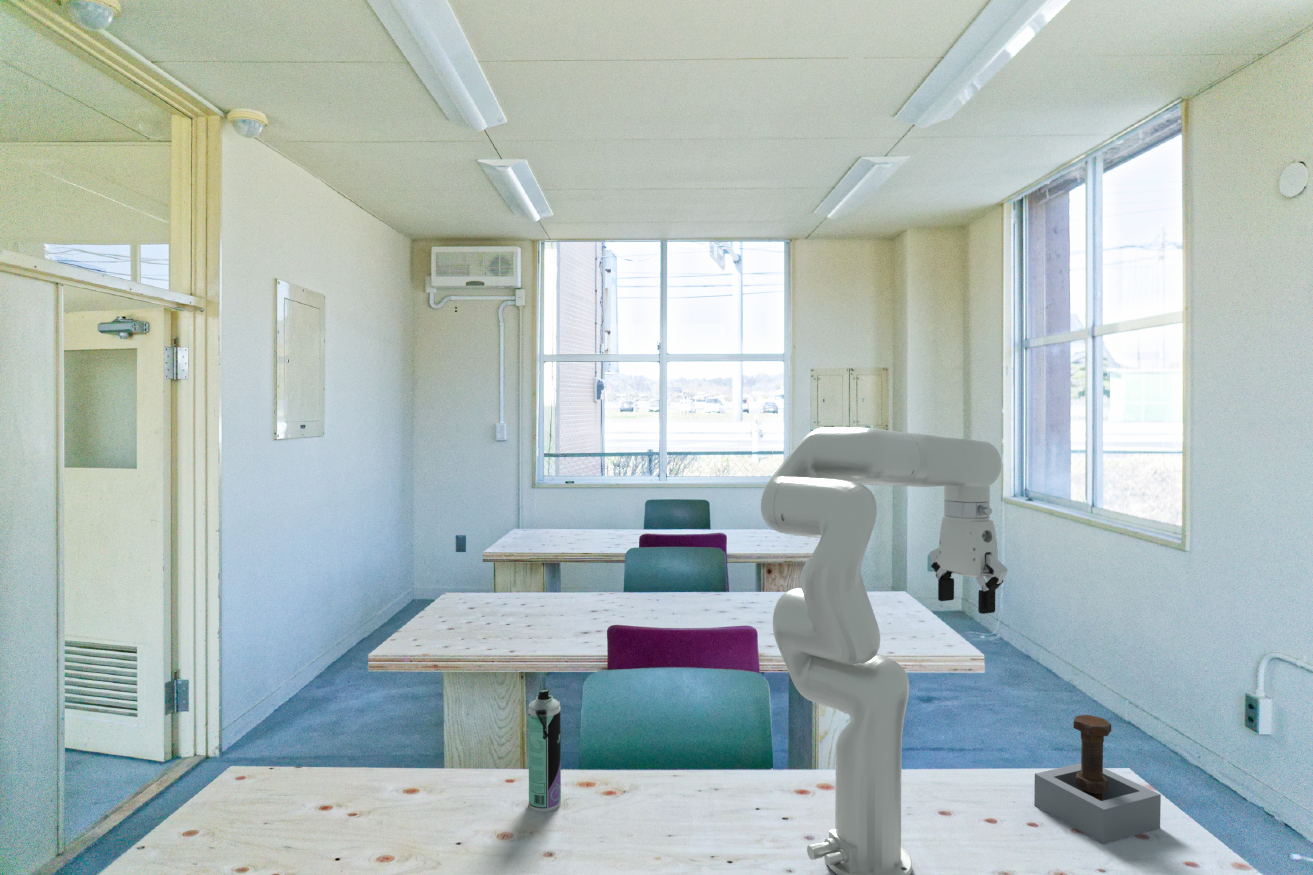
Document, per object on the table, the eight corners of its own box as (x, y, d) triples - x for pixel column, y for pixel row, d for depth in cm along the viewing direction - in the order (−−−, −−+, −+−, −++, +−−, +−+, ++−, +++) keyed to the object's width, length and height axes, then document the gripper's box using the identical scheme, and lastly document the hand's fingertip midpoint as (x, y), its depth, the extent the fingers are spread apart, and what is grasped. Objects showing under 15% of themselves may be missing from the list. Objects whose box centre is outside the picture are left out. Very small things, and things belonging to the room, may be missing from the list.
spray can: (564, 809, 129) (563, 693, 129) (532, 815, 127) (532, 697, 127) (556, 794, 135) (556, 682, 134) (525, 800, 133) (525, 686, 132)
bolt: (1104, 803, 129) (1105, 716, 129) (1116, 818, 124) (1117, 727, 124) (1067, 799, 131) (1068, 713, 130) (1077, 814, 126) (1078, 724, 125)
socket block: (1103, 844, 119) (1103, 809, 118) (1034, 805, 131) (1034, 773, 131) (1160, 827, 123) (1160, 794, 123) (1088, 791, 135) (1088, 761, 135)
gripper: (1022, 515, 128) (1021, 616, 128) (947, 504, 144) (947, 594, 144) (988, 517, 125) (987, 620, 126) (916, 506, 141) (915, 597, 142)
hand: (965, 606), depth 135 cm, fingers open, 9 cm apart
